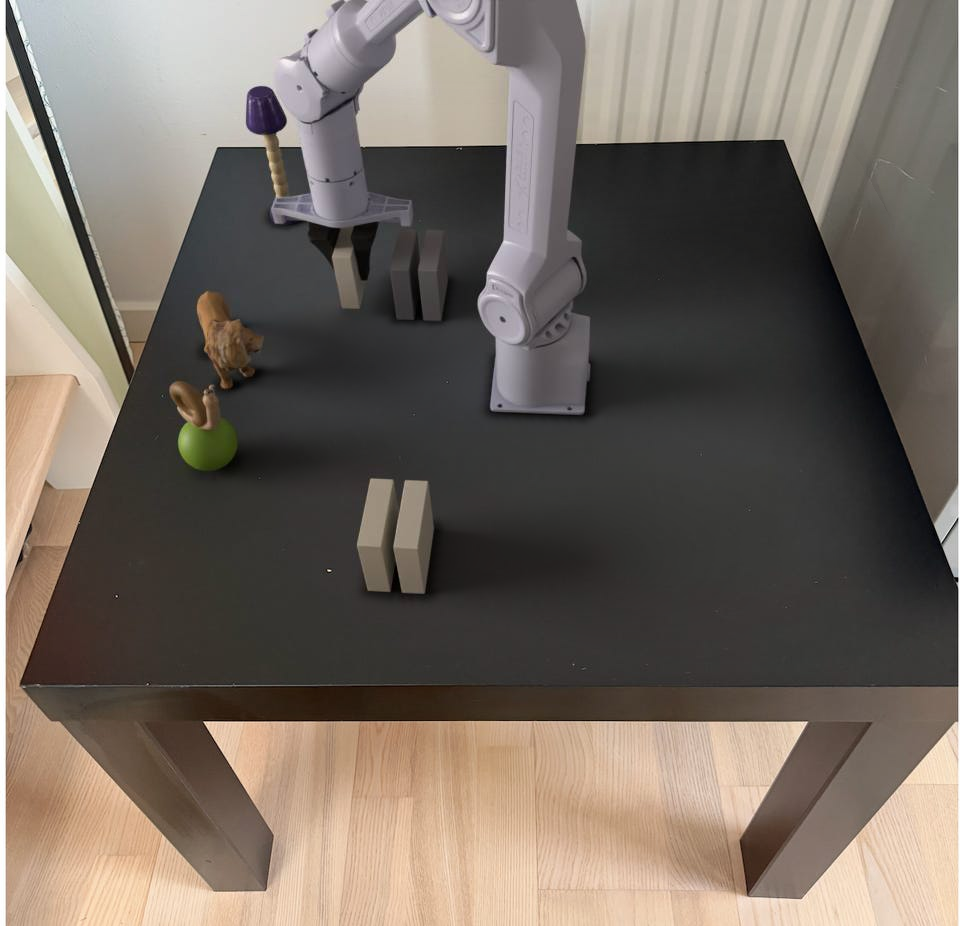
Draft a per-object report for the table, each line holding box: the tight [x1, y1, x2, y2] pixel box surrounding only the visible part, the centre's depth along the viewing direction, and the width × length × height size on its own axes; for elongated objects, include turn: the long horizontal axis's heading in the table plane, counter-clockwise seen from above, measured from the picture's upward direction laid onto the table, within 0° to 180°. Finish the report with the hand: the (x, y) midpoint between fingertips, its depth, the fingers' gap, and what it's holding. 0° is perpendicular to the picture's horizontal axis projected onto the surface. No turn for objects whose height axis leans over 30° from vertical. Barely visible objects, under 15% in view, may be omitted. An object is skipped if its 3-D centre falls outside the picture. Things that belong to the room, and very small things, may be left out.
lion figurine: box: [196, 290, 265, 390], centre depth 94 cm, size 15×5×9 cm, turn 33°
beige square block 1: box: [356, 478, 400, 593], centre depth 78 cm, size 2×7×7 cm, turn 175°
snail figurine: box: [169, 380, 238, 472], centre depth 84 cm, size 5×6×12 cm
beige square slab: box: [332, 226, 368, 310], centre depth 100 cm, size 2×7×7 cm, turn 175°
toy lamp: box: [245, 85, 300, 226], centre depth 108 cm, size 5×5×17 cm
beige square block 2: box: [394, 479, 435, 595], centre depth 78 cm, size 2×7×7 cm, turn 175°
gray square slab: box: [418, 229, 449, 322], centre depth 100 cm, size 2×7×7 cm, turn 175°
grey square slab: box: [389, 229, 421, 321], centre depth 101 cm, size 2×7×7 cm, turn 175°
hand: (354, 274), depth 101 cm, fingers closed on beige square slab, 2 cm apart
